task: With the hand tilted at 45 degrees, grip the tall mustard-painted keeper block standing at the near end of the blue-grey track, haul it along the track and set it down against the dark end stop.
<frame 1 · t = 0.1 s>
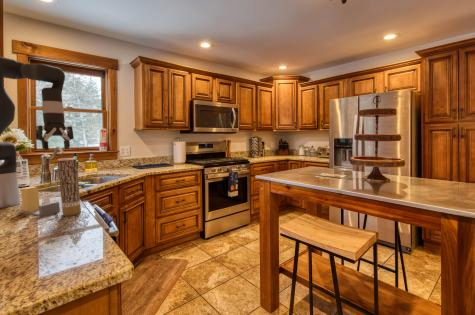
hand: (56, 149, 109), 29 cm above the countertop, tool pointing down, fingers open, 8 cm apart
brown bark pillar: (72, 214, 110), on the countertop
keeper: (31, 210, 116), point 1 cm above the countertop, touching track
track: (39, 213, 113), on the countertop
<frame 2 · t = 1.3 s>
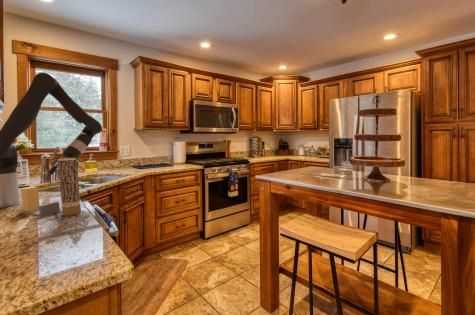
hand: (54, 174, 124), 16 cm above the countertop, tool tilted 45°, fingers open, 8 cm apart
nothing on the countertop moved.
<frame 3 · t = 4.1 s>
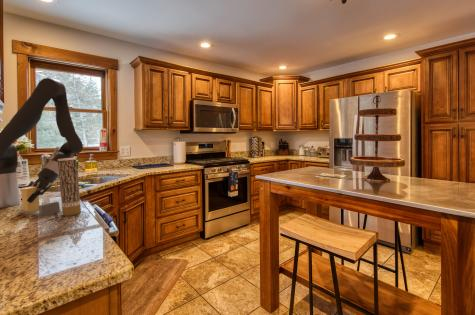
hand: (25, 201, 113), 6 cm above the countertop, tool tilted 45°, fingers closed on keeper, 4 cm apart
keeper: (31, 210, 116), point 1 cm above the countertop, touching gripper, track
everything else where it was.
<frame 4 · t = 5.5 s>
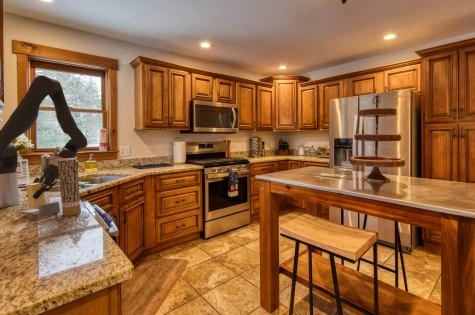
hand: (31, 197, 112), 8 cm above the countertop, tool tilted 45°, fingers closed on keeper, 4 cm apart
keeper: (37, 207, 114), point 3 cm above the countertop, touching gripper
everything else where it was.
when the fingers open (6 cm above the countertop, at t = 7.2 s): keeper stays where it is, resting on track.
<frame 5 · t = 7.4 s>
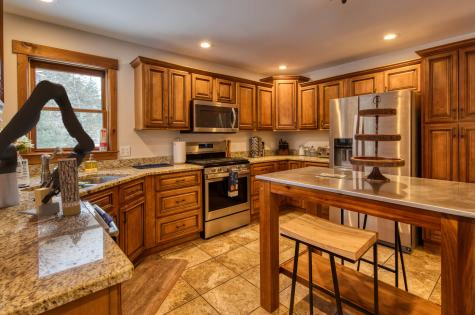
hand: (39, 202, 109), 6 cm above the countertop, tool tilted 45°, fingers open, 5 cm apart
keeper: (45, 212, 112), point 1 cm above the countertop, touching track
everything else where it was.
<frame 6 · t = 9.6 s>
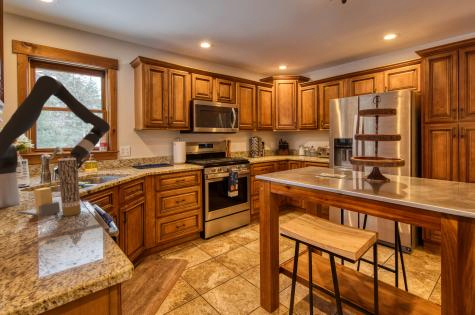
hand: (61, 173, 121), 17 cm above the countertop, tool tilted 45°, fingers open, 8 cm apart
nothing on the countertop moved.
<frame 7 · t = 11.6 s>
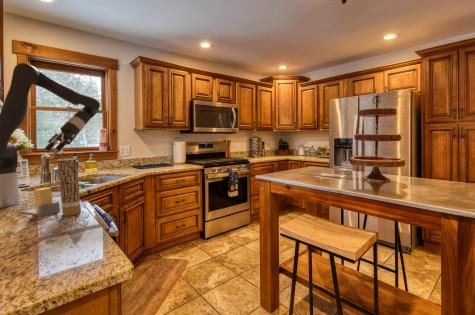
hand: (52, 149, 121), 29 cm above the countertop, tool tilted 45°, fingers open, 8 cm apart
nothing on the countertop moved.
at the end: keeper 0.4 cm from the target spot on the track, point 0.6 cm above the track's base; keeper tilted 0°; the gripper is holding nothing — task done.
